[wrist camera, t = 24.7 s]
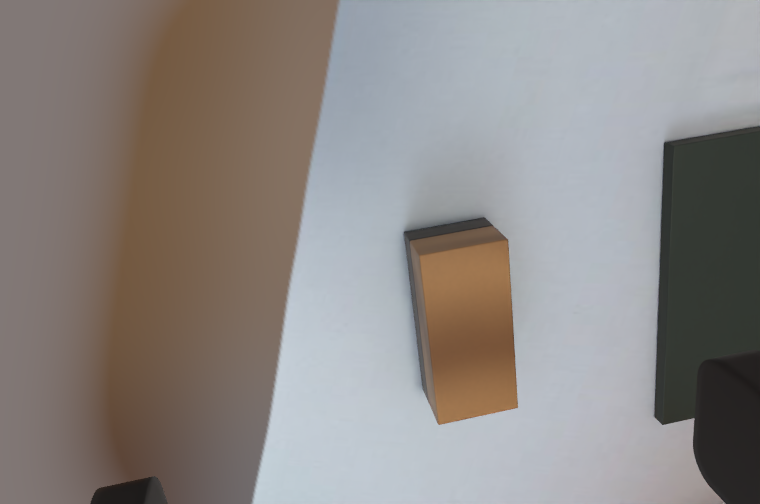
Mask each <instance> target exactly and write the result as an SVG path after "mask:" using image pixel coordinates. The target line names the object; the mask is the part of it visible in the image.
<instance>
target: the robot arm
mask: <svg viewBox="0 0 760 504" xmlns="http://www.w3.org/2000/svg"><path fill="white" fill-rule="evenodd" d="M693 449H694V455H695V459H696V462H697V465H698V467H699V470H700V472H701V474H702V476H703V477H704V479H705V481H706V482H707V483H708V485H709V486H710V487H711V488H712V489H713V490H714V491H715V493H716V494H717V495H718V496H719V497H720V498H721V499H722V500H723V501H724V502H725V503H726V504H760V351H758V350H749V351H745V352H740V353H735V354H731V355H726V356H721V357H717V358H712V359H707V360H705V361H703V362H702V363H701V365H700V366H699V369H698V374H697V388H696V404H695V420H694V436H693ZM91 504H167V501H166V497H165V494H164V491H163V488H162V486H161V483H160V481H159V480H158V478H157V477H155V476H154V477H149V478H144V479H140V480H135V481H130V482H126V483H121V484H116V485H112V486H107V487H102V488H99V489H97V490H96V492H95V493H94V496H93V498H92V501H91Z"/></svg>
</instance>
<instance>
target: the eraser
mask: <svg viewBox="0 0 760 504" xmlns="http://www.w3.org/2000/svg"><path fill="white" fill-rule="evenodd" d="M404 237H405V245H406V253H407V261H408V270H409V278H410V286H411V295H412V303H413V311H414V319H415V328H416V336H417V344H418V352H419V361H420V369H421V377H422V386H423V390H424V393H425V395H426V397H427V400H428V402H429V404H430V406H431V409H432V411H433V413H434V416H435V418H436V420H437V423H438V424H439V425H440V424H445V423H450V422H454V421H459V420H463V419H468V418H473V417H477V416H482V415H487V414H491V413H496V412H500V411H505V410H510V409H514V408H517V407H518V402H517V385H516V368H515V351H514V334H513V316H512V299H511V282H510V265H509V248H508V239H507V238H506V237H505V236H504V235H503V234H501V233H500V232H499V231H498V230H497V229H496V228H495V227H494V226H493V225H492V224H491V223H490V222H489V221H488V220H487V219H486V218H481V219H475V220H470V221H464V222H459V223H453V224H447V225H442V226H436V227H431V228H425V229H420V230H414V231H409V232H404Z"/></svg>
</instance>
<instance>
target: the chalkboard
mask: <svg viewBox="0 0 760 504" xmlns="http://www.w3.org/2000/svg"><path fill="white" fill-rule="evenodd" d="M749 350H758V351H760V127H754V128H748V129H743V130H737V131H731V132H725V133H719V134H713V135H708V136H702V137H696V138H690V139H684V140H678V141H673V142H667V143H665V146H664V174H663V202H662V231H661V259H660V287H659V315H658V343H657V371H656V399H655V418H656V419H657V420H658V421H659V422H660V423H661V424H662V425H665V424H669V423H674V422H678V421H683V420H687V419H691V418H695V404H696V388H697V374H698V369H699V366H700V365H701V363H702V362H703V361H705V360H707V359H712V358H717V357H721V356H726V355H731V354H735V353H740V352H745V351H749Z"/></svg>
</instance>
